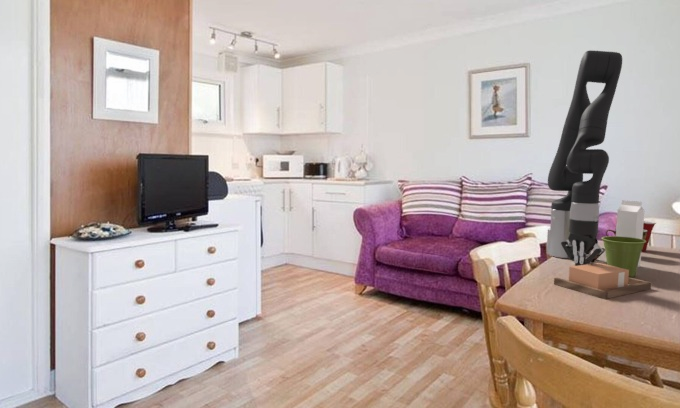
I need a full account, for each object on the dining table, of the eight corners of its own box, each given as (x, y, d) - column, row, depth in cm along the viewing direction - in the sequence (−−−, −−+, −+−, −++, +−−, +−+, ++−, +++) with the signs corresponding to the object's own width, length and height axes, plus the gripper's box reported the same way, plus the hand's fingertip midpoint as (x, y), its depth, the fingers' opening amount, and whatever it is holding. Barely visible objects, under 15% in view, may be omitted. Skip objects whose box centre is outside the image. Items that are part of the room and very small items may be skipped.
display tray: (553, 284, 131) (554, 278, 131) (598, 275, 141) (599, 270, 140) (604, 299, 118) (605, 292, 118) (650, 288, 127) (651, 282, 127)
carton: (568, 287, 129) (569, 266, 129) (597, 282, 134) (598, 262, 133) (597, 296, 121) (598, 274, 120) (627, 291, 126) (629, 270, 125)
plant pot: (637, 271, 146) (639, 237, 145) (648, 281, 135) (651, 243, 134) (595, 268, 150) (597, 234, 149) (603, 277, 139) (606, 241, 137)
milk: (633, 269, 149) (638, 202, 147) (613, 265, 154) (617, 200, 152) (640, 266, 153) (645, 201, 150) (620, 262, 158) (625, 199, 155)
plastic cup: (661, 252, 176) (663, 221, 174) (639, 253, 173) (641, 222, 171) (635, 246, 186) (637, 217, 185) (614, 248, 183) (616, 218, 182)
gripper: (555, 215, 137) (552, 272, 139) (597, 221, 126) (593, 283, 127) (572, 214, 141) (568, 269, 142) (614, 220, 129) (610, 279, 131)
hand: (580, 275), depth 135 cm, fingers closed
